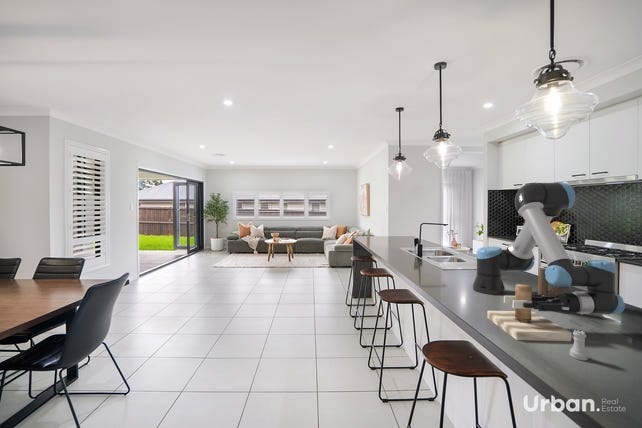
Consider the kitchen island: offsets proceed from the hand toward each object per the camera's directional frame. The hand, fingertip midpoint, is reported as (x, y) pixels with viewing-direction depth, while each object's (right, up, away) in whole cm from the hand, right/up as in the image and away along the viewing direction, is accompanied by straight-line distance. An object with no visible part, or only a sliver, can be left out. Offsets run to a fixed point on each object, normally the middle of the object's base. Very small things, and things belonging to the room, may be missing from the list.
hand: (508, 301), depth 112 cm
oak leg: (+5, -9, 0) cm, 10 cm away
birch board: (+6, -10, 0) cm, 12 cm away
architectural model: (+48, -10, +23) cm, 54 cm away
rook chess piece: (+8, -11, -21) cm, 25 cm away
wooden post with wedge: (+31, -10, +20) cm, 38 cm away
